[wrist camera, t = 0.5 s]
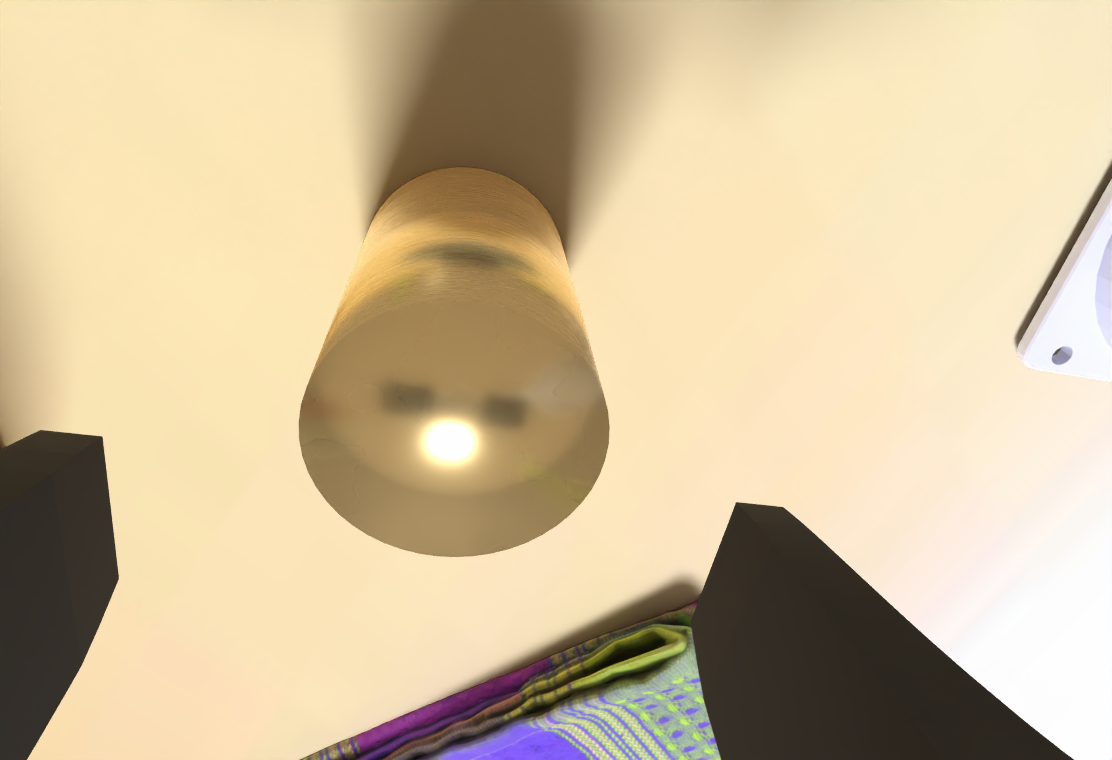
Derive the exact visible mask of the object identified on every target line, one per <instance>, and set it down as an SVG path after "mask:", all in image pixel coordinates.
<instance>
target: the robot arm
mask: <svg viewBox="0 0 1112 760" xmlns="http://www.w3.org/2000/svg"><path fill="white" fill-rule="evenodd" d="M1061 347H1062V348H1061ZM1059 348H1061V350H1060V351H1059V353H1058V354H1057V355H1055V356H1053V354H1054V352H1055V351H1056V350H1057V349H1059ZM1052 356H1053V357H1052ZM1017 357H1018V358H1019V359H1020V361H1021V362H1022V363H1024V364H1025V365H1026V366H1028V367H1030V368H1032V369H1036V370H1042V371H1049V372H1055V373H1061V374H1067V375H1073V376H1079V377H1086V378H1092V379H1098V380H1104V381H1110V382H1112V179H1111V181H1110V182H1109V184H1108V186H1107V188H1106V190H1105V191H1104V193H1103V195H1102V197H1101V198H1100V200H1099V202H1098V204H1097V206H1096V207H1095V209H1094V211H1093V213H1092V214H1091V216H1090V218H1089V220H1088V222H1087V223H1086V225H1085V227H1084V229H1083V231H1082V232H1081V234H1080V236H1079V238H1078V239H1077V241H1076V243H1075V245H1074V247H1073V248H1072V250H1071V252H1070V254H1069V256H1068V257H1067V259H1066V261H1065V263H1064V264H1063V266H1062V268H1061V270H1060V272H1059V273H1058V275H1057V277H1056V279H1055V281H1054V282H1053V284H1052V286H1051V288H1050V289H1049V291H1048V293H1047V295H1046V297H1045V298H1044V300H1043V302H1042V304H1041V305H1040V307H1039V309H1038V311H1037V313H1036V314H1035V316H1034V318H1033V320H1032V322H1031V323H1030V325H1029V327H1028V329H1027V330H1026V332H1025V334H1024V336H1023V338H1022V339H1021V341H1020V343H1019V345H1018V348H1017ZM118 579H119V575H118V567H117V558H116V550H115V541H114V532H113V524H112V515H111V507H110V498H109V489H108V481H107V472H106V464H105V455H104V446H103V438H102V437H101V436H92V435H82V434H72V433H63V432H53V431H43V430H40V431H38V432H36V433H34V434H31V435H29V436H27V437H25V438H23V439H21V440H19V441H17V442H15V443H13V444H11V445H9V446H7V447H5V448H3V449H1V450H0V760H27V759H28V757H29V755H30V754H31V752H32V750H33V748H34V747H35V745H36V743H37V742H38V740H39V738H40V737H41V735H42V733H43V731H44V730H45V728H46V726H47V725H48V723H49V721H50V719H51V718H52V716H53V714H54V713H55V711H56V709H57V707H58V706H59V704H60V702H61V700H62V699H63V697H64V695H65V694H66V692H67V690H68V688H69V687H70V685H71V683H72V681H73V680H74V678H75V676H76V674H77V673H78V671H79V669H80V667H81V666H82V663H83V661H84V659H85V657H86V654H87V652H88V650H89V648H90V646H91V643H92V641H93V639H94V637H95V634H96V632H97V630H98V628H99V625H100V623H101V621H102V618H103V616H104V613H105V611H106V608H107V606H108V604H109V601H110V599H111V596H112V594H113V591H114V589H115V587H116V584H117V582H118ZM691 628H692V634H693V641H694V647H695V654H696V660H697V666H698V672H699V677H700V683H701V688H702V693H703V699H704V703H705V707H706V710H707V714H708V717H709V721H710V724H711V727H712V731H713V734H714V737H715V741H716V744H717V748H718V751H719V754H720V758H721V760H1074V759H1072V758H1071V757H1070V756H1068V755H1067V754H1066V753H1064V752H1063V751H1062V750H1060V749H1059V748H1058V747H1057V746H1055V745H1054V744H1053V743H1051V742H1050V741H1049V740H1048V739H1046V738H1045V737H1044V736H1043V735H1041V734H1040V733H1039V732H1038V731H1036V730H1035V729H1034V728H1032V727H1031V726H1030V725H1029V724H1028V723H1026V722H1025V721H1024V720H1023V719H1021V718H1020V717H1019V716H1018V715H1017V714H1015V713H1014V712H1013V711H1012V710H1011V709H1009V708H1008V707H1007V706H1006V705H1005V704H1003V703H1002V702H1001V701H1000V700H999V699H998V698H996V697H995V696H994V695H993V694H992V693H990V692H989V691H988V690H987V689H986V688H984V687H983V686H982V685H981V684H980V683H978V682H977V681H976V680H975V679H974V678H972V677H971V676H970V675H969V674H968V673H967V672H965V671H964V670H963V669H962V668H961V667H960V666H959V665H957V664H956V663H955V662H954V661H953V660H952V659H951V658H949V657H948V656H947V655H946V654H945V653H944V652H943V651H941V650H940V649H939V648H938V647H937V646H936V645H935V644H933V643H932V642H931V641H930V640H929V639H928V638H927V637H926V636H925V635H923V634H922V633H921V632H920V631H919V630H918V629H917V628H916V627H915V626H913V625H912V624H911V623H910V622H909V621H908V620H907V619H906V618H905V617H904V616H903V615H901V614H900V613H899V612H898V611H897V610H896V609H895V608H894V607H893V606H892V605H891V604H889V603H888V602H887V601H886V600H885V599H884V598H883V597H882V596H881V595H880V594H879V593H878V592H877V591H875V590H874V589H873V588H872V587H871V586H870V585H869V584H868V583H867V582H866V581H865V580H864V579H863V578H861V577H860V576H859V575H858V574H857V573H856V572H855V571H854V570H853V569H852V568H851V567H850V566H849V565H848V564H846V563H845V562H844V561H843V560H842V559H841V558H840V557H839V556H838V555H837V554H836V553H835V552H834V551H832V550H831V549H830V548H829V547H828V546H827V545H826V544H825V543H824V542H823V541H822V540H821V539H819V538H818V537H817V536H816V535H815V534H814V533H813V532H812V531H811V530H809V529H808V528H807V527H806V526H805V525H804V524H803V523H801V522H800V521H799V520H798V519H797V518H796V517H794V516H793V515H792V514H791V513H790V512H788V511H787V510H786V509H785V508H783V507H777V506H767V505H757V504H748V503H738V502H736V504H735V507H734V510H733V512H732V515H731V518H730V520H729V523H728V525H727V528H726V531H725V533H724V536H723V538H722V541H721V544H720V546H719V549H718V551H717V554H716V557H715V559H714V562H713V564H712V567H711V570H710V572H709V575H708V577H707V580H706V583H705V585H704V588H703V590H702V593H701V596H700V598H699V601H698V603H697V606H696V609H695V611H694V614H693V616H692V619H691Z"/></svg>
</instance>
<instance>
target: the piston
mask: <svg viewBox="0 0 1112 760" xmlns="http://www.w3.org/2000/svg"><path fill="white" fill-rule="evenodd" d="M299 440H300V445H301V451H302V456H303V459H304V461H305V464H306V467H307V470H308V472H309V474H310V476H311V478H312V480H313V482H314V484H315V486H316V487H317V489H318V490H319V491H320V493H321V494H322V496H323V497H324V498H325V500H326V501H327V502H328V503H329V504H330V505H331V506H332V507H333V508H334V509H335V511H336V512H337V513H338V514H339V515H341V516H342V517H343V518H344V519H346V520H347V521H348V522H349V523H351V524H352V525H353V526H355V527H356V528H358V529H359V530H361V531H363V532H364V533H366V534H367V535H369V536H371V537H373V538H375V539H377V540H379V541H381V542H384V543H386V544H389V545H392V546H394V547H397V548H400V549H403V550H407V551H411V552H415V553H420V554H426V555H433V556H446V557H464V556H477V555H484V554H490V553H495V552H499V551H503V550H507V549H510V548H513V547H516V546H518V545H521V544H524V543H527V542H529V541H531V540H533V539H535V538H537V537H539V536H541V535H543V534H544V533H546V532H547V531H549V530H550V529H552V528H554V527H555V526H557V525H558V524H559V523H560V522H562V521H563V520H564V519H565V518H567V517H568V516H569V515H570V514H571V513H572V512H573V511H574V510H575V509H576V508H577V507H578V506H579V505H580V504H581V503H582V501H583V500H584V499H585V497H586V496H587V495H588V493H589V492H590V491H591V489H592V487H593V486H594V484H595V482H596V480H597V478H598V476H599V475H600V472H601V469H602V467H603V464H604V461H605V458H606V453H607V448H608V444H609V418H608V409H607V406H606V402H605V398H604V394H603V391H602V387H601V383H600V380H599V376H598V372H597V369H596V365H595V362H594V358H593V354H592V351H591V347H590V343H589V340H588V336H587V333H586V329H585V325H584V322H583V318H582V315H581V311H580V307H579V304H578V300H577V296H576V293H575V289H574V286H573V282H572V278H571V275H570V271H569V267H568V264H567V260H566V257H565V253H564V249H563V246H562V242H561V239H560V235H559V232H558V230H557V228H556V225H555V223H554V221H553V219H552V218H551V216H550V214H549V213H548V211H547V210H546V209H545V207H544V206H543V205H542V203H541V202H540V201H539V200H538V199H537V198H536V197H535V196H534V195H533V194H532V193H531V192H529V191H528V190H527V189H525V188H524V187H523V186H521V185H520V184H518V183H517V182H515V181H513V180H511V179H510V178H508V177H505V176H503V175H500V174H498V173H495V172H492V171H488V170H484V169H479V168H470V167H452V168H445V169H439V170H435V171H432V172H428V173H425V174H423V175H421V176H418V177H416V178H414V179H412V180H410V181H409V182H407V183H406V184H404V185H402V186H401V187H400V188H399V189H397V190H396V191H395V192H394V193H392V194H391V196H390V197H389V198H388V199H387V200H386V201H385V202H384V203H383V205H382V206H381V207H380V209H379V210H378V212H377V213H376V215H375V217H374V219H373V221H372V223H371V225H370V228H369V230H368V233H367V235H366V238H365V240H364V243H363V245H362V248H361V250H360V253H359V256H358V258H357V261H356V263H355V266H354V268H353V271H352V273H351V276H350V278H349V281H348V283H347V286H346V289H345V291H344V294H343V296H342V299H341V301H340V304H339V306H338V309H337V311H336V314H335V316H334V319H333V322H332V324H331V327H330V329H329V332H328V334H327V337H326V339H325V342H324V344H323V347H322V349H321V352H320V355H319V357H318V360H317V362H316V365H315V367H314V370H313V372H312V375H311V377H310V380H309V382H308V385H307V388H306V391H305V394H304V397H303V400H302V404H301V410H300V417H299Z"/></svg>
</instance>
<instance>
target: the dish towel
mask: <svg viewBox="0 0 1112 760" xmlns="http://www.w3.org/2000/svg"><path fill="white" fill-rule="evenodd" d="M697 603H698V601H697V602H694V603H692V604H689V605H687V606H685V607H683V608H681V609H680V610H678V611H672V612H666V613H664V614H662V615H660V616H658V617H655V618H652V619H650V620H647V621H642V622H638V623H636V624H633V625H631V626H629V627H626V628H623V629H620V630H617V631H614V632H610V633H607V634H604V635H602V636H599V637H596V638H594V639H591V640H589V641H586V642H584V643H582V644H579V645H577V646H575V647H572V648H570V649H568V650H565V651H563V652H560V653H558V654H555V655H553V656H550V657H548V658H546V659H543V660H541V661H539V662H536V663H534V664H532V665H530V666H527V667H525V668H523V669H520V670H518V671H515V672H512V673H509V674H506V675H504V676H501V677H499V678H496V679H494V680H491V681H489V682H486V683H483V684H480V685H478V686H475V687H473V688H470V689H468V690H466V691H463V692H460V693H457V694H454V695H451V696H449V697H447V698H444V699H442V700H440V701H437V702H435V703H432V704H429V705H427V706H424V707H422V708H420V709H418V710H415V711H413V712H411V713H408V714H405V715H403V716H401V717H398V718H396V719H394V720H392V721H389V722H386V723H384V724H381V725H379V726H377V727H375V728H373V729H371V730H369V731H367V732H364V733H362V734H359V735H357V736H354V737H352V738H349V739H347V740H344V741H342V742H339V743H337V744H334V745H332V746H330V747H327V748H325V749H323V750H321V751H319V752H317V753H315V754H313V755H310V756H308V757H306V758H304V759H302V760H721V758H720V754H719V751H718V748H717V744H716V741H715V737H714V734H713V731H712V727H711V724H710V721H709V717H708V714H707V710H706V707H705V703H704V699H703V693H702V688H701V683H700V677H699V672H698V666H697V660H696V654H695V647H694V641H693V634H692V628H691V619H692V616H693V614H694V611H695V609H696V606H697Z"/></svg>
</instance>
